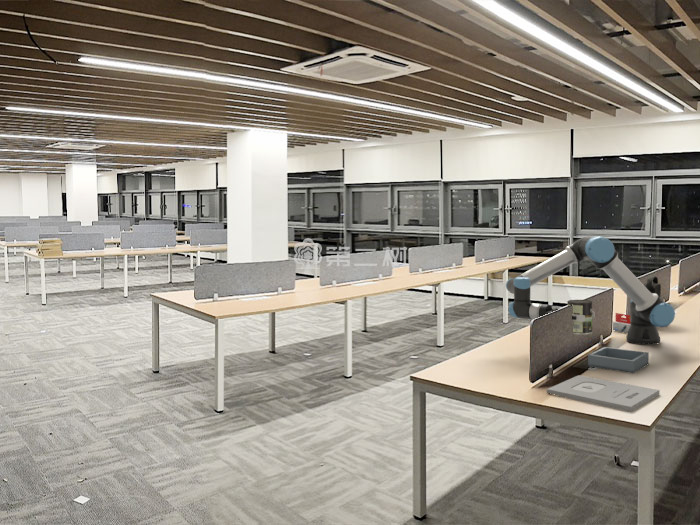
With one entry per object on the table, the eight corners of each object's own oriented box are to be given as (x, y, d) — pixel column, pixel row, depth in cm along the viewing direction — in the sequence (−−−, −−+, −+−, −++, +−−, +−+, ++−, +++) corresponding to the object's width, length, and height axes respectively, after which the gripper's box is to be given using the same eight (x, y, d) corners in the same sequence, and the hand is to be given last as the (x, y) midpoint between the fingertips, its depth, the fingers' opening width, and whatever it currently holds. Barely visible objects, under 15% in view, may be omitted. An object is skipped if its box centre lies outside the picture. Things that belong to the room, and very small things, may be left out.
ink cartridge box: (629, 334, 309) (629, 316, 308) (612, 330, 319) (612, 313, 318) (632, 333, 310) (633, 315, 309) (615, 330, 320) (615, 312, 319)
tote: (604, 357, 262) (604, 346, 262) (648, 364, 249) (648, 352, 249) (588, 366, 249) (588, 354, 248) (633, 373, 236) (633, 361, 236)
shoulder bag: (655, 328, 320) (655, 278, 318) (637, 327, 326) (637, 277, 323) (663, 322, 338) (663, 274, 336) (645, 320, 343) (646, 273, 341)
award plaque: (630, 413, 192) (630, 406, 192) (546, 394, 214) (546, 389, 214) (659, 395, 209) (659, 389, 209) (578, 380, 231) (578, 375, 231)
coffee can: (589, 330, 263) (589, 299, 262) (594, 335, 253) (594, 302, 252) (565, 330, 265) (565, 299, 264) (569, 334, 255) (569, 302, 254)
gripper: (552, 316, 279) (599, 321, 264) (530, 323, 263) (578, 329, 248) (552, 301, 279) (599, 304, 263) (529, 307, 263) (578, 311, 247)
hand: (589, 316), depth 256 cm, fingers closed on coffee can, 10 cm apart
